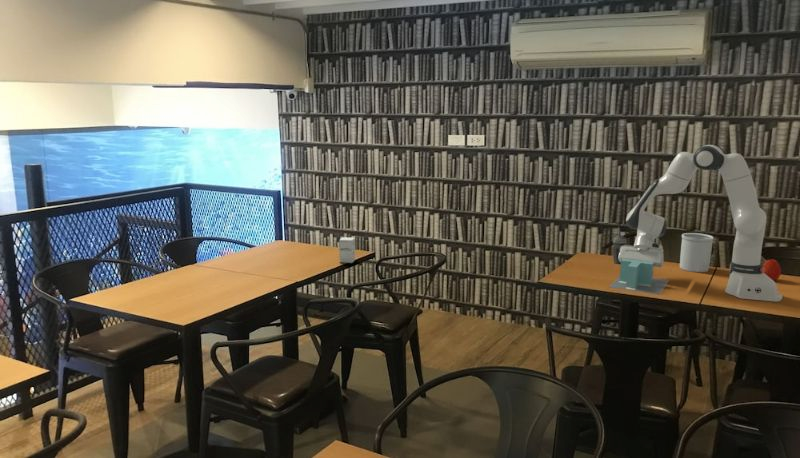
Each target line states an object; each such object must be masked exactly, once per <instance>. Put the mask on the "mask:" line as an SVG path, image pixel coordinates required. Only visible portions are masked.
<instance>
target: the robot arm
mask: <svg viewBox="0 0 800 458" xmlns="http://www.w3.org/2000/svg"><path fill="white" fill-rule="evenodd" d="M699 169H700V170H703V171H718V172H719V173H720V175H721V177H722V181H723V185H724V188H725V190H726V194H727V198H728V201H729V205H730V206H729V207H730V211H731V216H732V219H733V224H734V227H735V229H736V232H735V237H734V242H733V248H732V256H731V261H730V264H729V278H728V282H727V285H726V287H725V290H724V292H725V293H727V295H731V296H734V297H736V298H739V299H741V300H742V299H745V300H755V301H764V302H775V303H776V302H777V303H778V302H782V301H783V294H781V293H780V292H779V291H778V285H777V283H776V282H775V281H773V280H772V279H771V278H769V277H768V276H767V275H766V274H765V273H764V272H765V271H766V269H765V267H764V265H763V264H762V263H761V258H762V249H763V244H764V243H763V242H764V237H765V233H766V231H765V230H766V224H767V214H766V212H765V210H764V209H763V208H761V207H760V204H759V200H758V196H757V190H756V186H755V183H754V180H753V177H752V174H751V170H750V168H749V166H748V163H747V161H746V160H745V158H744V157H743V155H741V153H735V152H734V153H733V152H732V153H727V154H726V153H725V152H724V150H723V149H722V148H721V147H720V146H718V145H716V144H706V145H703V146H701V147H699V148H697V149H696V150H695V151H694V153H691V152H688V151H681V152H678V153H677V154H676V156H675V157H674V158H673V160H672V161H671V163H670V165H669V166H668V167H667V170H666V172H665V173H664V175H662V176H661V177H660V178H658V179H656V178H655V179H654V180H653V181H652V182H651V183H650V184H649V186H648V187H647V189H646V190H645V192H643V193H642V195H641V197H640V198H639V200H638V201H637V202H636V204H635V205H634V206H633V207H632V208H631V209H630V211H629V212H628V213H627V215H626V218H625V222H626V226H627V227H628V228H629V229H631V230H636V237H635V239H634V244H633V245H628V244H627V245H624V246H621V248H620V253H619V256H618V259H619V261H620V262H621V260H622V259H629V260H638V261H646V262H654V268H655V267H656V268H661V267H663V265H664V254H663V246H662V245H661V244H659V243H657V242H655V239H659V238H661V237H663V236H664V235H665V234H666V232H667V231H666V230H667V227H668V222H667V219H665V218H666V217H664V216H663V217H662V216H660V215H658V214H654V213H651V212H649V211H647V210H646V211H645V209H646V208H647V206H648V205H649V204H650V203H651V201H652V199H653V198H655V197H656V196H658V195H674V194H679V193H682V192H684V191H685V190H686V188H687V187H688V186H689V184H690V182H691V180H692V178H693V176H694V174H695V173H696V171H697V170H699Z"/></svg>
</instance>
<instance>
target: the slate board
mask: <svg viewBox="0 0 800 458" xmlns="http://www.w3.org/2000/svg"><path fill="white" fill-rule="evenodd" d="M669 282H670V279H664V278H654V277H653V281H652V284H651V285H645V284H639V285H638V286H637V287H636V288H629V287H626V283H627V282H624V281H620V275H619V276H618V277H617V278H616V279H615V280H614V281H613V282H612V283H611V285H609V289H610V288H611V289H617V290H618V289H619V290H625V291H632V292H633V291H634V292H638V293H639V292H640V293H647V294H652V295H661V293H662V292H663V290H664V289H665V288H666V286H667V285H668V283H669Z"/></svg>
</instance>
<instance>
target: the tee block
mask: <svg viewBox="0 0 800 458" xmlns="http://www.w3.org/2000/svg"><path fill="white" fill-rule="evenodd" d="M654 268H655V266H654V262H646V261H638V260H629V259H622V260H621V265H620V269H619V270H620V271H619V276H620V281H624V282H627V283H626V287H629V288H636V287H637V286H638V285H639V284H645V285H651V284H652V281H653V278H654Z"/></svg>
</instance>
